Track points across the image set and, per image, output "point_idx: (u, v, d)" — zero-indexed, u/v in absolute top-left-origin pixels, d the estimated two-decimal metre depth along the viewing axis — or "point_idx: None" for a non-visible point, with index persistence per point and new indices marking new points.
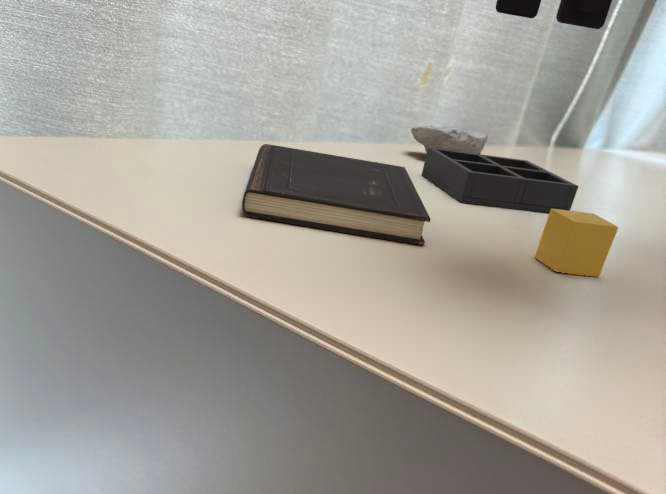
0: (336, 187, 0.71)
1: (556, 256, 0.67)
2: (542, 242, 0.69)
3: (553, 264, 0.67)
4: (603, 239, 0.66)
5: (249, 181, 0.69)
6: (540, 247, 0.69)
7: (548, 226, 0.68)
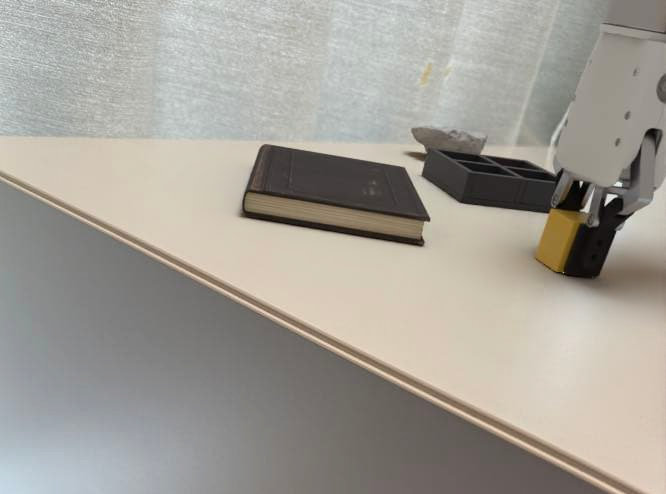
0: (336, 187, 0.71)
1: (556, 256, 0.67)
2: (542, 242, 0.69)
3: (553, 264, 0.67)
4: None
5: (249, 181, 0.69)
6: (540, 247, 0.69)
7: (548, 226, 0.68)
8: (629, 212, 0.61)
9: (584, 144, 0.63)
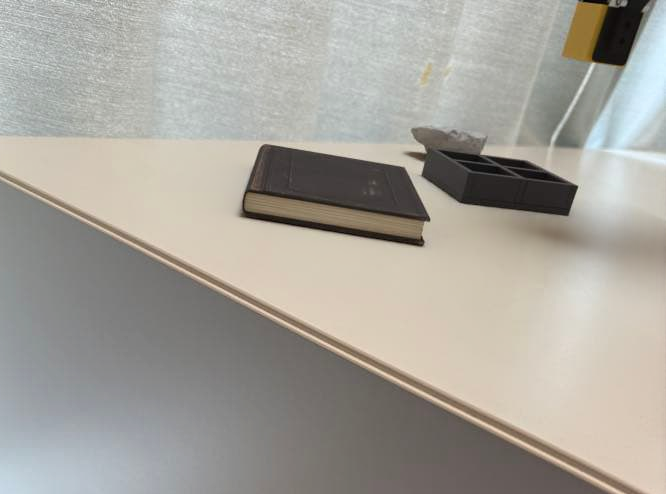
0: (336, 187, 0.71)
1: (584, 45, 0.69)
2: (569, 38, 0.71)
3: (581, 54, 0.69)
4: None
5: (249, 181, 0.69)
6: (567, 43, 0.71)
7: (575, 20, 0.70)
8: None
9: None
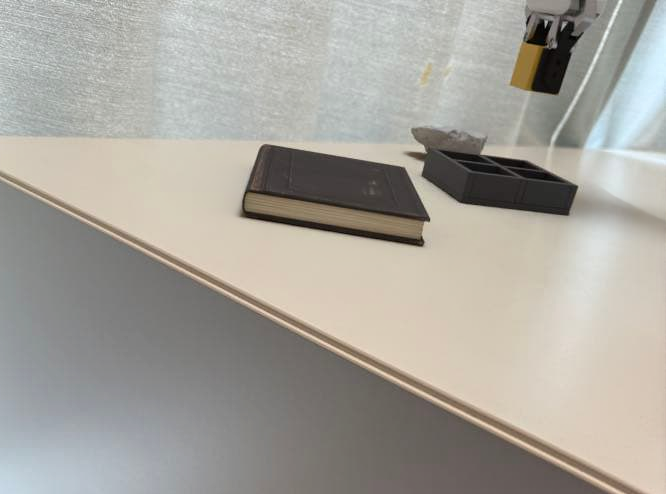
0: (336, 187, 0.71)
1: (525, 77, 0.87)
2: (515, 71, 0.89)
3: (523, 84, 0.87)
4: None
5: (249, 181, 0.69)
6: (513, 75, 0.89)
7: (519, 56, 0.88)
8: (579, 33, 0.81)
9: None
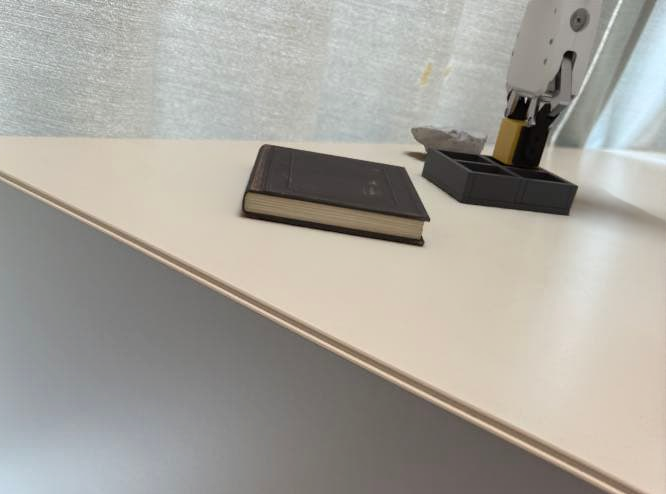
0: (336, 187, 0.71)
1: (506, 152, 0.91)
2: (497, 144, 0.93)
3: (504, 158, 0.91)
4: None
5: (249, 181, 0.69)
6: (495, 148, 0.93)
7: (501, 131, 0.92)
8: (555, 113, 0.85)
9: (524, 66, 0.87)
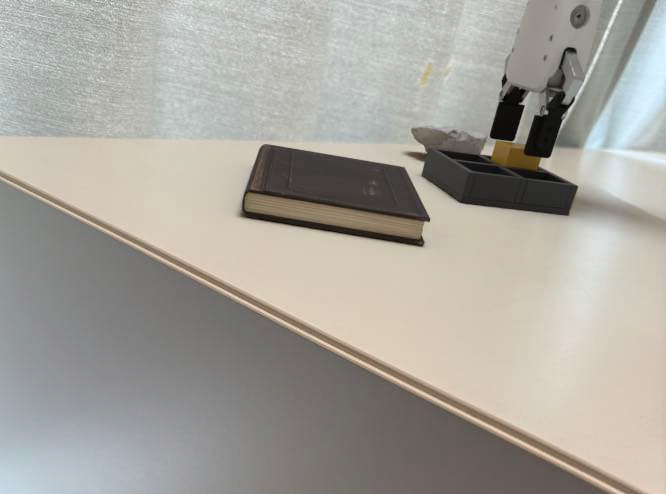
0: (336, 187, 0.71)
1: None
2: None
3: None
4: (532, 161, 0.91)
5: (249, 181, 0.69)
6: None
7: (494, 153, 0.93)
8: (570, 98, 0.83)
9: (524, 63, 0.87)
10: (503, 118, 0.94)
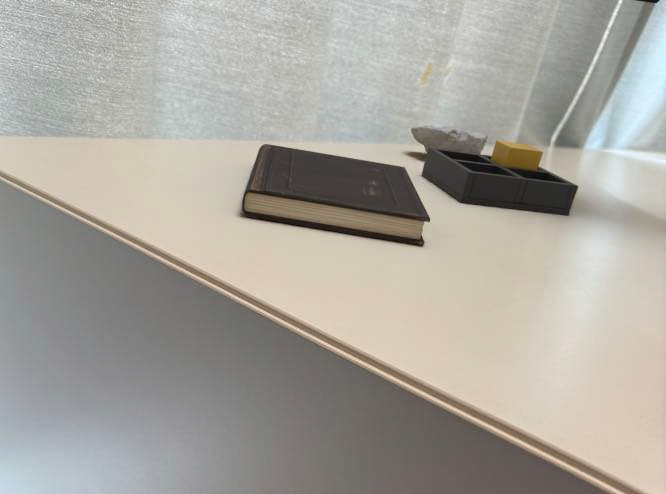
0: (336, 187, 0.71)
1: None
2: None
3: None
4: (532, 161, 0.91)
5: (249, 181, 0.69)
6: None
7: (494, 153, 0.93)
8: None
9: None
10: None
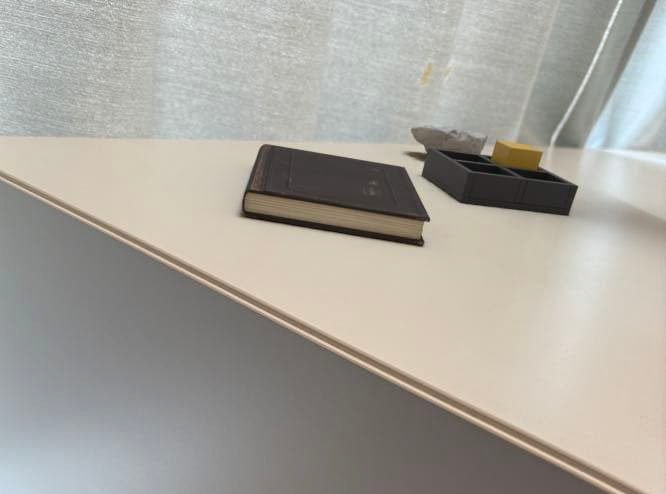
0: (336, 187, 0.71)
1: None
2: None
3: None
4: (532, 161, 0.91)
5: (249, 181, 0.69)
6: None
7: (494, 153, 0.93)
8: None
9: None
10: None
